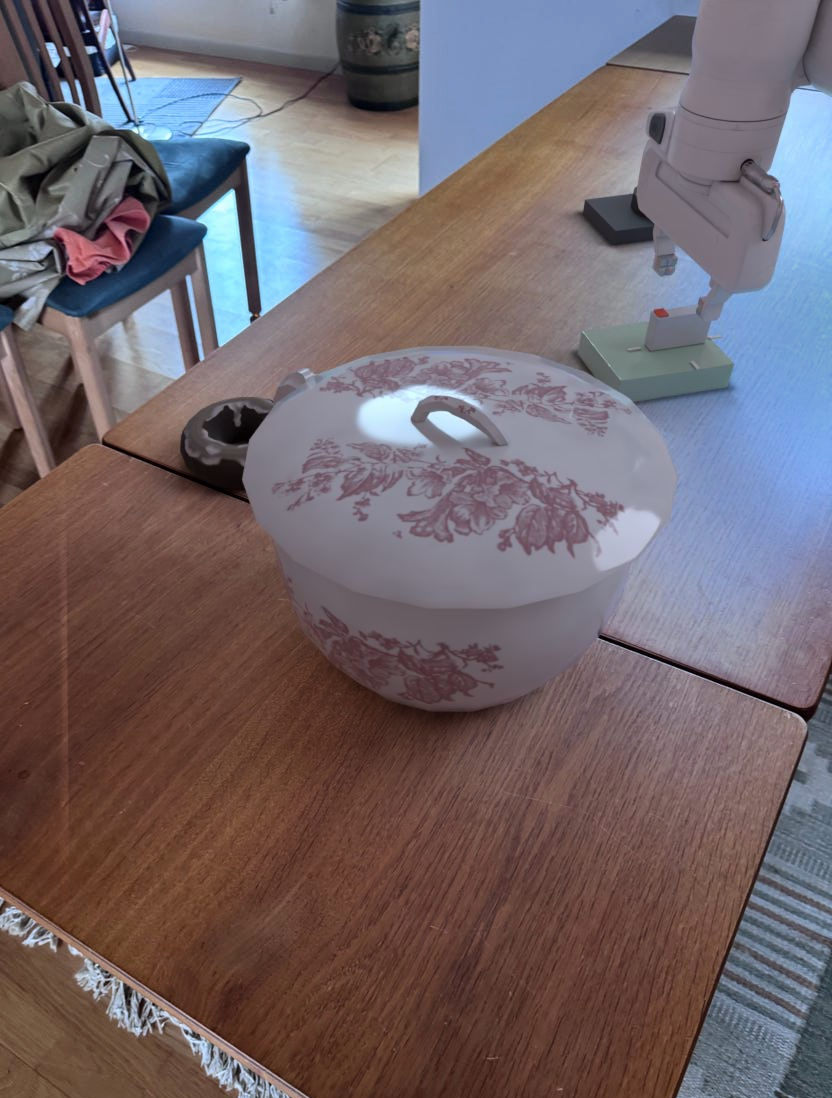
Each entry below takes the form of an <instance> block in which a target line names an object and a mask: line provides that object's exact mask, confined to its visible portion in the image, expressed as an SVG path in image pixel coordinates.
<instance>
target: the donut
mask: <svg viewBox="0 0 832 1098" xmlns="http://www.w3.org/2000/svg"><path fill="white" fill-rule="evenodd" d="M273 400H274V399H270V398H265V397H258V396H238V397H231V398H226V399H222V400H219V401H216V402H212V403H211V404H209V405H207V406H205V407H203V408H201V409H200V410H198V411H197V412H196V413H195V414H194V415H192V417H191V418H190V419H189V420H188V421H187V423H186V424H185V426H184V428H183V430H182V431H181V435H180V442H179V452H180V454H181V457H182V459H183V462H184V465H185V466H186V468H187V469H188V470H189V471H190V472H191V473H192V474H193V475H194V476H196V477H197V478H198V479H199V480H201V481H204V482H205V483H207V484H210V485H212V486H214V487H219V488H224V489H229V490H246V489H245V486H244V484H243V481H242V478H243V472H244V467H245V461H246V456H247V450H248V445H249V442H246V443H234V442H237V441H242V440H243V441H244V440H250V438H251V437H252V436H253V434H254V433H255V432H256V430H257V429H258V427H259V426H260V425H261V423H262V422H263V421H264V419H265V418H266V416H267V415H268V414H269V412H270V411H271V410H272V408H273V407H274V401H273Z"/></svg>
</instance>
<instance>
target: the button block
mask: <svg viewBox="0 0 832 1098" xmlns="http://www.w3.org/2000/svg"><path fill="white" fill-rule="evenodd" d="M582 215H583V216H584V217H585V218H586V219H587V221H589V222H590V224H591V225H592V226H594V228H596V229H597V231H598V232H599V233H600V234H601V235H602V236H603V237H604V238H605V239H606V240H607V241H608V242H609V243H610V244H611V245H612V246H613V247H614V246H623V245H629V244H637V243H644V242H652V241H654V240H653V229H654V223H653V222H652V221H651V220H650V219H649V218H648V217H647V216H646V215H645V214H644V213H643V212H641V211H640V209H639V207H638V202H637V186H635V187H634V188H633V192H632V193H626V194H619V195H618V194H617V195H610V196H602V197H594V198H586V199H584V203H583V210H582Z"/></svg>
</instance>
